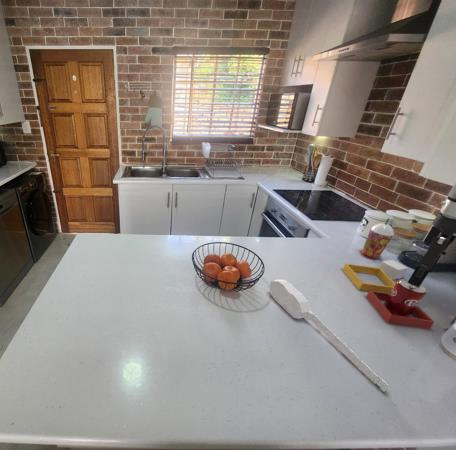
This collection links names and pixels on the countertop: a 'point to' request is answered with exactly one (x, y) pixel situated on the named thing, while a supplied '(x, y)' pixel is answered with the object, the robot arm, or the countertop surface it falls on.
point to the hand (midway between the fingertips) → (419, 277)
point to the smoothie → (377, 240)
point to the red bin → (420, 320)
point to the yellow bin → (351, 268)
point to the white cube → (393, 269)
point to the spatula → (316, 323)
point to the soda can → (404, 298)
